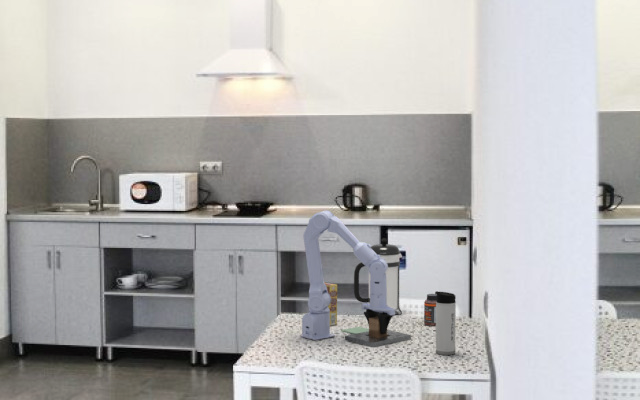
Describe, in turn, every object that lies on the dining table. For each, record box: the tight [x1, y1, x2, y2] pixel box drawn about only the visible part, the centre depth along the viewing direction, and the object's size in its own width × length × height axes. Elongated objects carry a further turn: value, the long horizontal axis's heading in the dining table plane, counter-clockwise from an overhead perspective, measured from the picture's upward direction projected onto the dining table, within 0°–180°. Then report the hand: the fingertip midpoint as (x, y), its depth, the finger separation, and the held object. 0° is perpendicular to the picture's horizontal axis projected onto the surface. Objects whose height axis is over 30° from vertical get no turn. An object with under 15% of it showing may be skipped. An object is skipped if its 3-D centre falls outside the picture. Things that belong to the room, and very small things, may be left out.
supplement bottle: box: [423, 293, 437, 327], centre depth 338 cm, size 6×6×11 cm
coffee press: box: [353, 237, 403, 316], centre depth 357 cm, size 17×16×30 cm
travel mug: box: [434, 291, 457, 356], centre depth 293 cm, size 6×7×20 cm
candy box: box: [324, 281, 338, 327], centre depth 339 cm, size 9×4×15 cm, turn 39°
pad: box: [340, 326, 369, 335], centre depth 326 cm, size 9×9×1 cm
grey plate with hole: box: [344, 329, 412, 348], centre depth 313 cm, size 18×14×2 cm
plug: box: [368, 316, 387, 338], centre depth 313 cm, size 4×4×8 cm
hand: (378, 332), depth 313 cm, fingers closed on plug, 4 cm apart
